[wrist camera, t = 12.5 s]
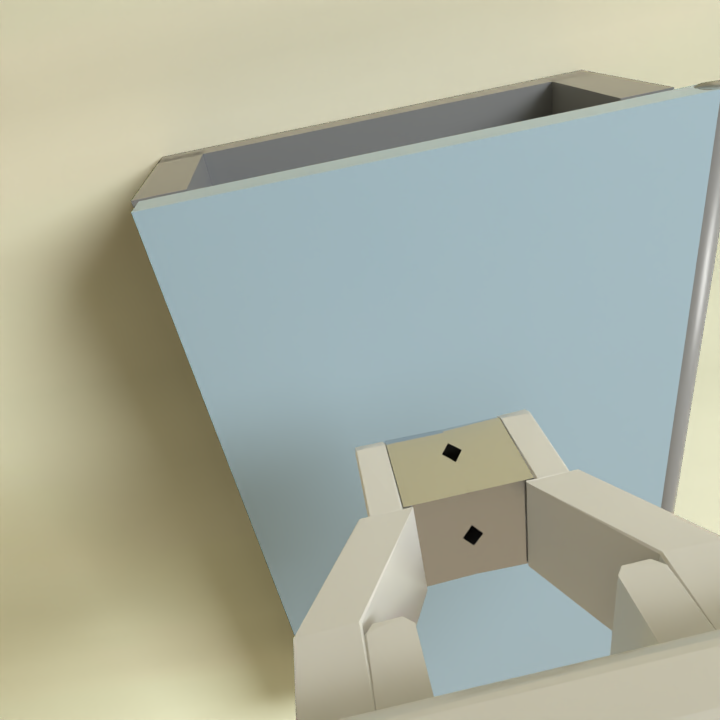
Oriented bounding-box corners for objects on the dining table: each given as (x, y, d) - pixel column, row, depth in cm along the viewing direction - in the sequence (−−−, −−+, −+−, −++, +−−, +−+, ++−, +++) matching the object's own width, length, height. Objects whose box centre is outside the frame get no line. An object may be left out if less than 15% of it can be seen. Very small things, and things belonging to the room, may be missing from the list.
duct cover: (139, 200, 12) (130, 213, 12) (724, 78, 13) (754, 82, 12) (345, 751, 25) (348, 774, 24) (636, 682, 25) (647, 703, 24)
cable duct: (162, 157, 16) (130, 200, 12) (581, 69, 17) (673, 87, 13) (331, 652, 29) (340, 748, 25) (566, 597, 29) (611, 684, 25)
